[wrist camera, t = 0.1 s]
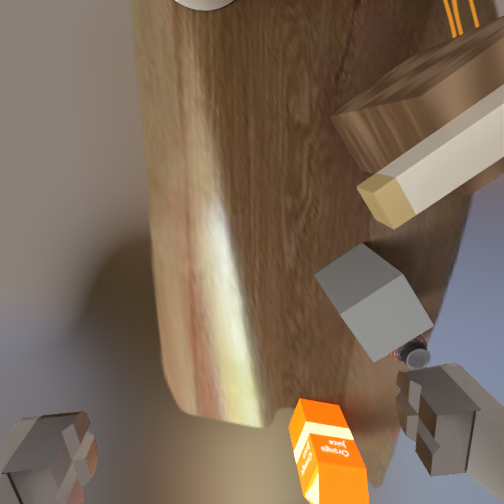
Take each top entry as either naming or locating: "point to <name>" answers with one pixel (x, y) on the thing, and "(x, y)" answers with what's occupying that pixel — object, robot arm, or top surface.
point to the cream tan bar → (438, 163)
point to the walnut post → (424, 100)
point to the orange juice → (327, 455)
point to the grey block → (374, 301)
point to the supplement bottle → (413, 353)
